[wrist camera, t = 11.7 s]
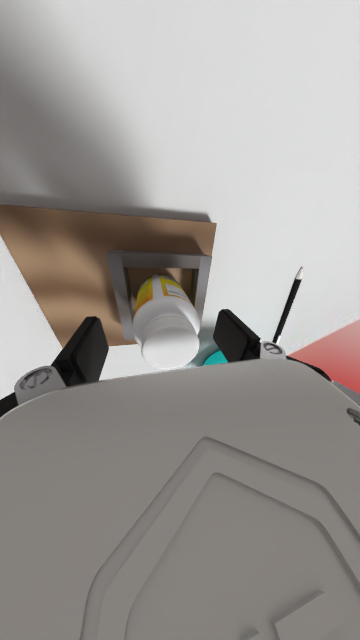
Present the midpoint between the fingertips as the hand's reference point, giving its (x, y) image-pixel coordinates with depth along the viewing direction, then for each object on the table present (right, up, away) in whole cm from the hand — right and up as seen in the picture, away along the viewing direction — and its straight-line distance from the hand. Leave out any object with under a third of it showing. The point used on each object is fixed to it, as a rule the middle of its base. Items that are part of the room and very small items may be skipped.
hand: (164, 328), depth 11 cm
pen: (+21, +1, +16) cm, 26 cm away
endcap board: (-5, +4, +7) cm, 10 cm away
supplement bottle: (-1, +4, +7) cm, 8 cm away
